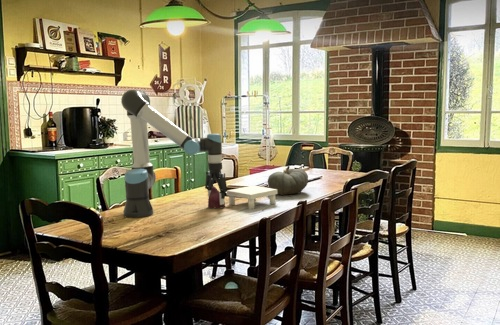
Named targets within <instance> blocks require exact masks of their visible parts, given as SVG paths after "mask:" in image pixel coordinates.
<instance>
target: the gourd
mask: <svg viewBox="0 0 500 325" xmlns="http://www.w3.org/2000/svg"><path fill="white" fill-rule="evenodd" d="M286 167H287V168H286V170H284V171H283V172H282V171H275V172H273V173H271V174H270V175H268V178H267V185H268V188H271V189H277V194H276V195H281V196H285V195H294V194H299V193H301V192H302V191H303V190H304V189H305V188H306V187H307V185H308V184H309V183H308V182H309V175H308V173H307V172H306V171H305V170H304V169H302V168H296V169H295V168H291V167H290V165H287V166H286Z"/></svg>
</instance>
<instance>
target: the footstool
mask: <svg viewBox="0 0 500 325" xmlns="http://www.w3.org/2000/svg"><path fill="white" fill-rule="evenodd" d="M276 195H278V194H277V189H271V188H269V187H264V186H257V185H250V186H245V187H239V188H233V189H227V192H226V196H228V201H229V202H228V204H229V206H234V205H236V198H242V199H247V200H248V201H247V202H248V205H247V206H248V210H254V209H255V201H257V199H259V198H265V197H269V205H276V204H277V203H276Z"/></svg>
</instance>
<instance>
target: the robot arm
mask: <svg viewBox="0 0 500 325" xmlns="http://www.w3.org/2000/svg"><path fill="white" fill-rule="evenodd" d="M120 100H121V101H120V102H121V105H122V107H123V109H124V110H125V111H126V116H127V117H128V118H129V120H130V130H131V131H130V132H131V144H132V156H133V164H132V165H131V166H130V169H129V170H126V171H125V172H124V177H123V178H124V187H125V188H124V189H125V205H124V208H123V212H122V213H123V216H124V217H125V216H126V217H125V218H130V217H137V218H143V217H142V216H145V217H149V215H150V216H152V215H153V214H154V208H153V206H152V204H151V201H150V193H149V190H150V189H151V188H152V187H153V186H154V184H155V183H156V179H157V176H156V173H155V171H154V164H152V163H151V161H150V160H151V159H150V146H149V133H148V132H149V130H148V124H149V126H151V127H153V128H154V129H155V130H157V131H158V132H160V134H162V135H163V136H165V137H166V138H168V139H169V140H170V141H172V142H173V143H175V144H176V145H178V147H180V148H181V149H183V150H184V152H185V154H187V155H190V156H194V155H197V154H198V153H200V152H201V153H202V152H203V153H204V152H205V153H206V152H207V162H208V164H207V165H208V166H207V168H208V170H209V171H206V172H205V173H206V175H205V177H206V178H205V187H204V188H205V190H207V196H208V198H207V199H209V195H210V192H211V188H212V186H214V184H215V182H217V186H218V189H219V192H220V193H219V195H220V205H222V204H225V205H226V201H225V199H226V198H225V197H226V193H227V190H228V186H227V181H226V173H223V172H222V170H223V162H222V161H223V153H222V149H223V148H222V147H223V146H222V135H221V133H208V134H207V136H206V137H192V136H191V135H190V134H188V133H187V132H186V131H184V130H183V129H181V128H180V127H178V125H176V124H175V123H173V121H170V120H169V118H166V117H165V116H164V115H162V114H161V113H160V112H158V111H157V110H156V109H155V108H153V107H152V106H151V99H150V96H149V95H148V94H147V93H146V92H145V91H143V90H141V89H139V90H138V89H129V90H127V91H125V92H124V93H123V94H122V96H121V98H120Z"/></svg>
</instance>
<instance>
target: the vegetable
mask: <svg viewBox="0 0 500 325" xmlns="http://www.w3.org/2000/svg"><path fill="white" fill-rule="evenodd" d="M219 193H220V190H218V189H217V187H216V186H214V185H213V186H212V188H211V192H210V195H209V198H207V200H208V201H207V206H208V209H223V208H224V207H225V206H226V203H225V204H222V205H220V195H219Z"/></svg>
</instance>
